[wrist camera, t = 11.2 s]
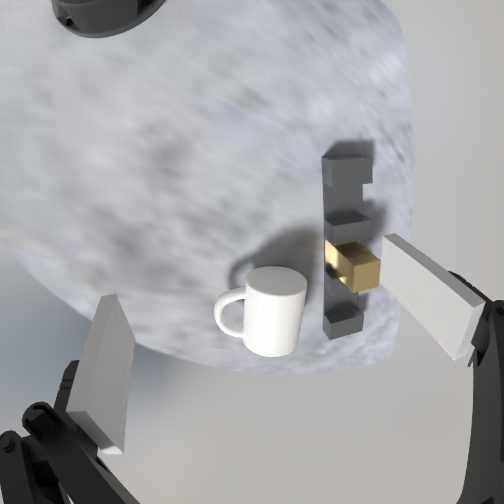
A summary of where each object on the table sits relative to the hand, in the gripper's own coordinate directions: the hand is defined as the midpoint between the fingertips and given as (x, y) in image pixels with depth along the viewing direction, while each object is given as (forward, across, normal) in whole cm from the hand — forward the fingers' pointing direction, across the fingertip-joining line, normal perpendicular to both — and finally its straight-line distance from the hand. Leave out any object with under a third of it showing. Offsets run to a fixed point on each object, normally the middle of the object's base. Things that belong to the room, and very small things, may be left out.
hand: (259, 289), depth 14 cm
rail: (+25, +17, -14) cm, 33 cm away
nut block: (+25, +17, -14) cm, 33 cm away
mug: (+26, +2, -18) cm, 31 cm away
